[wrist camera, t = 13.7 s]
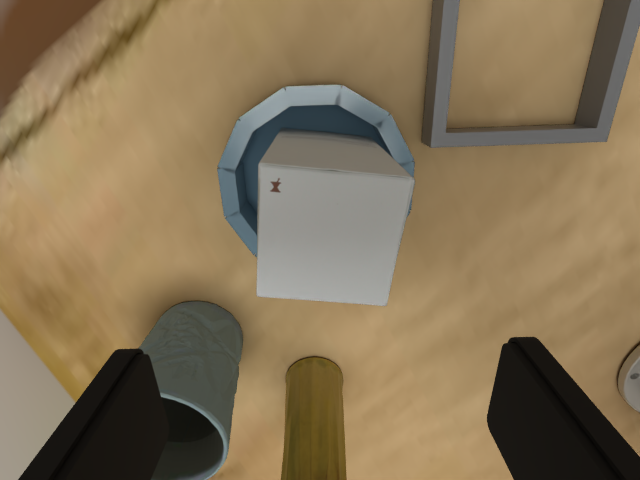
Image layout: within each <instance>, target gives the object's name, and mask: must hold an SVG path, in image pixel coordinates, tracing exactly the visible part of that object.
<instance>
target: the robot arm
mask: <svg viewBox="0 0 640 480" xmlns="http://www.w3.org/2000/svg"><path fill="white" fill-rule="evenodd" d="M618 389H619V391H620V394H621V396H622V397H623V398H624V400H625V401H626V402H627V403H628V404H629V405H630V406H631V407H632V408H633V409H634V410H636V411H638V412H640V345H639V346H638V347H637V348H636V349H635V350H634V351H633V352H632V353H631V354H630V355H629V356H628V358H627V359H626V361H625V362H624V364H623V366H622V368H621V370H620V373H619V378H618ZM487 423H488V427H489V430H490V432H491V434H492V436H493V438H494V440H495V442H496V444H497V446H498V448H499V450H500V452H501V454H502V456H503V458H504V460H505V463H506V465H507V467H508V469H509V471H510V473H511V475H512V477H513V479H514V480H640V457H639V456H638V455H637V453H636V452H635V451H634V450H633V449H632V448H631V446H630V445H629V444H628V443H627V442H626V441H625V439H624V438H623V437H622V436H621V435H620V434H619V432H618V431H617V430H616V429H615V428H614V427H613V425H612V424H611V423H610V422H609V421H608V420H607V418H606V417H605V416H604V415H603V414H602V413H601V412H600V410H599V409H598V408H597V407H596V406H595V405H594V403H593V402H592V401H591V400H590V399H589V398H588V396H587V395H586V394H585V393H584V392H583V391H582V389H581V388H580V387H579V386H578V385H577V384H576V382H575V381H574V380H573V379H572V378H571V377H570V375H569V374H568V373H567V372H566V371H565V370H564V369H563V367H562V366H561V365H560V364H559V363H558V362H557V360H556V359H555V358H554V357H553V356H552V355H551V353H550V352H549V351H548V350H547V349H546V348H545V346H544V345H543V344H542V343H541V342H540V341H539V340H538V339H537V338H535V337H513V338H510V339H509V341H508V343H505V344H504V345H503V346H502V350H501V354H500V359H499V363H498V368H497V373H496V377H495V382H494V386H493V391H492V396H491V400H490V405H489V409H488V414H487ZM168 435H169V423H168V420H167V416H166V413H165V409H164V405H163V402H162V398H161V395H160V391H159V388H158V384H157V380H156V377H155V373H154V370H153V366H152V362H151V359H150V356H149V355H148V354H144V352H143V351H142V350H141V349H118V350H116V351H115V352H114V353H113V354H112V355H111V356H110V358H109V359H108V360H107V362H106V363H105V364H104V366H103V367H102V368H101V370H100V371H99V372H98V374H97V375H96V376H95V378H94V379H93V380H92V382H91V383H90V384H89V386H88V387H87V389H86V390H85V391H84V393H83V394H82V395H81V397H80V398H79V399H78V401H77V402H76V403H75V405H74V406H73V407H72V409H71V410H70V411H69V413H68V414H67V415H66V416H65V418H64V419H63V421H62V422H61V423H60V424H59V426H58V427H57V429H56V430H55V431H54V432H53V434H52V435H51V437H50V438H49V439H48V441H47V442H46V443H45V445H44V446H43V447H42V449H41V450H40V451H39V453H38V454H37V455H36V457H35V458H34V459H33V461H32V462H31V463H30V465H29V466H28V467H27V469H26V470H25V471H24V473H23V474H22V475H21V477H20V478H19V479H18V480H151V478H152V476H153V473H154V471H155V469H156V466H157V464H158V461H159V459H160V457H161V454H162V452H163V449H164V447H165V444H166V442H167V439H168Z"/></svg>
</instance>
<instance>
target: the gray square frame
mask: <svg viewBox="0 0 640 480" xmlns="http://www.w3.org/2000/svg"><path fill="white" fill-rule="evenodd" d="M459 2H460V0H433V5H432V18H431V30H430V43H429V55H428V67H427V80H426V92H425V105H424V117H423V129H422V143H423V144H425V145H427V146H429V147H430V148H436V147H465V146H495V145H524V144H554V143H583V142H607V139H608V135H609V131H610V128H611V124H612V121H613V117H614V114H615V110H616V107H617V103H618V100H619V96H620V93H621V89H622V86H623V82H624V78H625V75H626V71H627V68H628V64H629V61H630V57H631V54H632V50H633V47H634V43H635V40H636V36H637V32H638V29H639V25H640V0H604V4H603V8H602V12H601V16H600V20H599V24H598V29H597V33H596V37H595V41H594V45H593V49H592V53H591V57H590V62H589V66H588V70H587V74H586V78H585V82H584V86H583V90H582V94H581V99H580V103H579V107H578V111H577V115H576V119H575V123H574V124H568V125H538V126H509V127H479V128H450V129H446V125H447V115H448V106H449V96H450V87H451V78H452V68H453V59H454V49H455V40H456V30H457V21H458V12H459Z"/></svg>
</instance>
